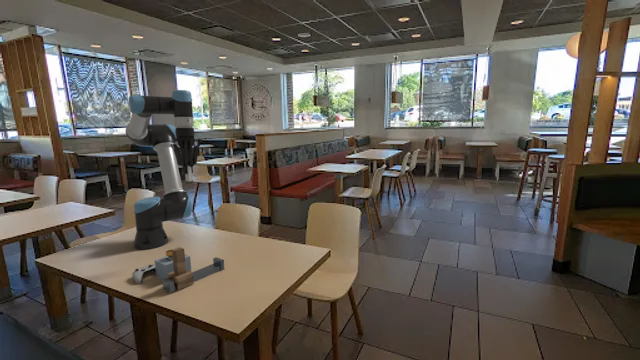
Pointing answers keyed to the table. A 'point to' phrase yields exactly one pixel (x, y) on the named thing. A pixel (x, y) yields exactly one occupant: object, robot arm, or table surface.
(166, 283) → the rail
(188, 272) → the carriage
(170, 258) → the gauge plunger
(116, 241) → the table surface
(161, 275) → the block with square hole
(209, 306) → the table surface
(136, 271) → the gaming controller
